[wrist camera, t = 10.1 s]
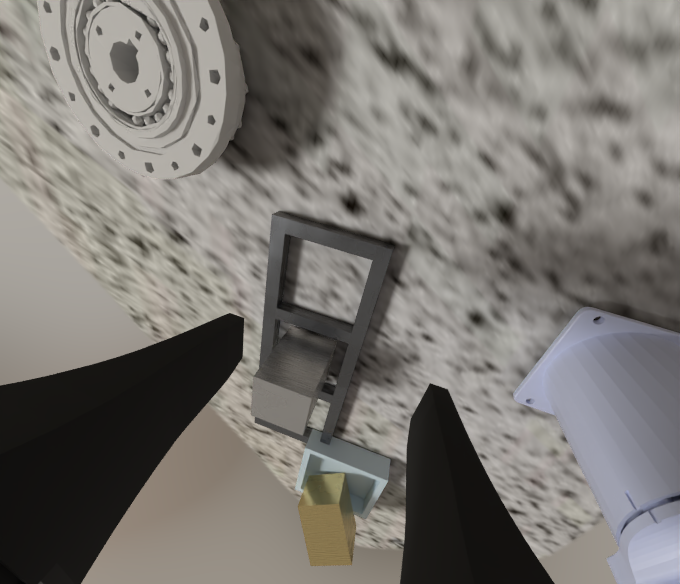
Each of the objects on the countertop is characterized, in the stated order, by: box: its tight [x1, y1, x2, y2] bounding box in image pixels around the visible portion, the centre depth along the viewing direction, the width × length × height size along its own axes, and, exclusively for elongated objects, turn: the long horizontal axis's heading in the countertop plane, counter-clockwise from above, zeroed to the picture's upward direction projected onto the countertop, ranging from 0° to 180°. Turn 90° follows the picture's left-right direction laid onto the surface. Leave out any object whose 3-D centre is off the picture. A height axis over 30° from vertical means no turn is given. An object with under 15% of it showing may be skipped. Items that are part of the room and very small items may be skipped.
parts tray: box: [295, 429, 391, 519], centre depth 29 cm, size 8×8×2 cm
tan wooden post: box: [298, 473, 356, 566], centre depth 28 cm, size 4×4×6 cm
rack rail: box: [255, 211, 395, 445], centre depth 23 cm, size 8×22×1 cm, turn 168°
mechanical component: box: [37, 0, 249, 179], centre depth 15 cm, size 10×4×10 cm
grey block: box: [251, 325, 337, 436], centre depth 21 cm, size 4×4×6 cm
